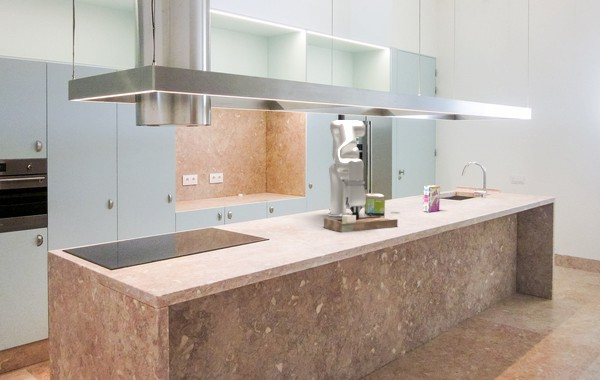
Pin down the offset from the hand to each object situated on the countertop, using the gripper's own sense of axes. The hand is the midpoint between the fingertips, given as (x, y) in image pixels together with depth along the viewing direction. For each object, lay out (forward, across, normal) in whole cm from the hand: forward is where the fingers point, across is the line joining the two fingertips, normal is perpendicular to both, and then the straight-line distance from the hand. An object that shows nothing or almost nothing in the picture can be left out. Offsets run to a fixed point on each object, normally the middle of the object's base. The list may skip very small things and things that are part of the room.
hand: (355, 219), depth 262 cm
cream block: (+2, +5, +1) cm, 5 cm away
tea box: (+5, -26, -20) cm, 33 cm away
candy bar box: (+5, -80, -34) cm, 87 cm away
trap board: (+5, -6, -3) cm, 8 cm away
